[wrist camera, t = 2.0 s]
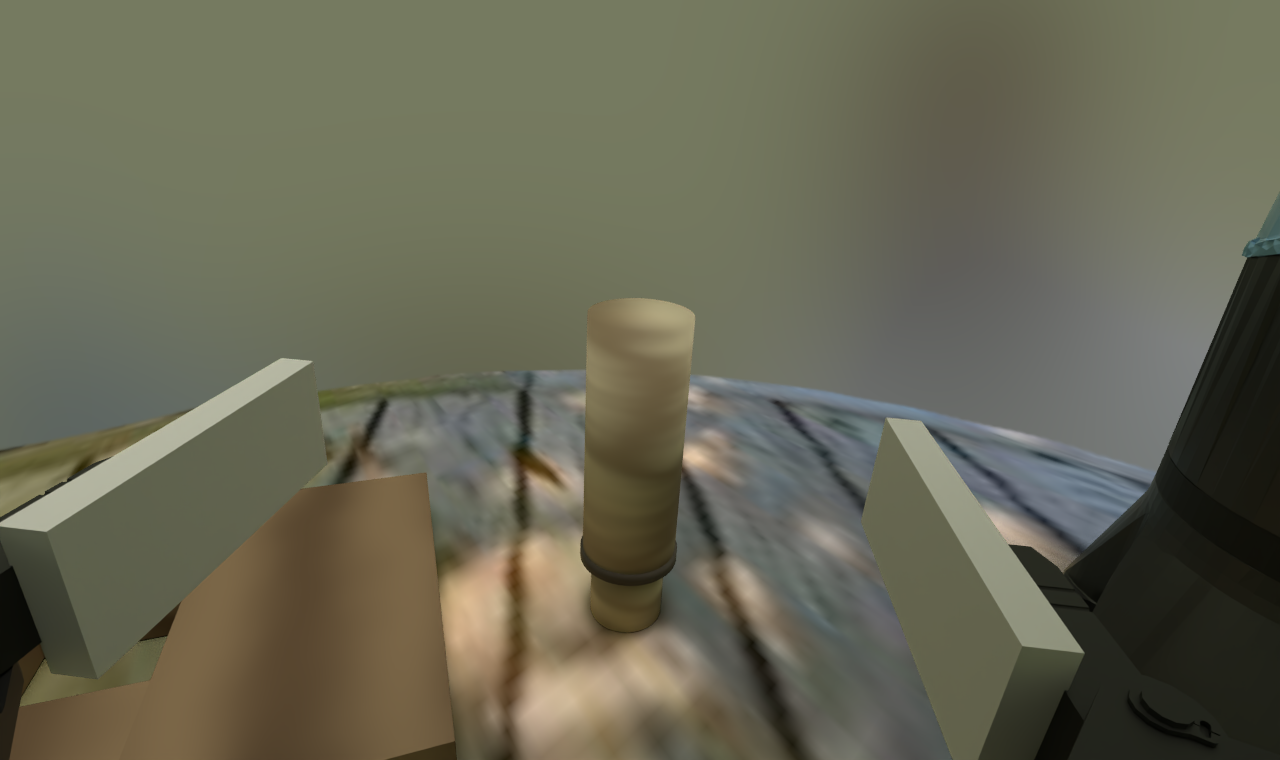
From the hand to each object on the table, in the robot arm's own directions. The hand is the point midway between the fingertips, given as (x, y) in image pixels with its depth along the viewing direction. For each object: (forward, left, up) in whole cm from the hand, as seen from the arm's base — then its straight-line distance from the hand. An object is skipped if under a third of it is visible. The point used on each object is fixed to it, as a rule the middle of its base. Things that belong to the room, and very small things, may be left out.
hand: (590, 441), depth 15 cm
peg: (-5, -9, -14) cm, 17 cm away
